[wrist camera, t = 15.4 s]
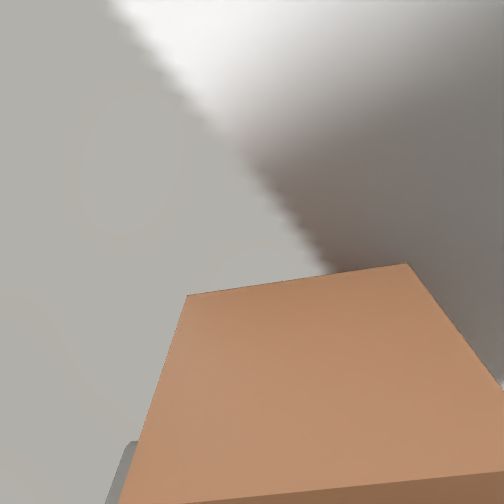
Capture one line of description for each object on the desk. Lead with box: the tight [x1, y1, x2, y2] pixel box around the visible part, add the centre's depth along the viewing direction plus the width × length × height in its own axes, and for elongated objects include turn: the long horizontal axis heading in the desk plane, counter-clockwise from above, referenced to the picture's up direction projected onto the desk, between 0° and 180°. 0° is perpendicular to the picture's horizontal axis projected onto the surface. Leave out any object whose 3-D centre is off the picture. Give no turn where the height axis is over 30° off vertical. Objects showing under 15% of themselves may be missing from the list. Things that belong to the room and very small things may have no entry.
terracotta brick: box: [118, 263, 504, 504], centre depth 8 cm, size 6×5×5 cm
